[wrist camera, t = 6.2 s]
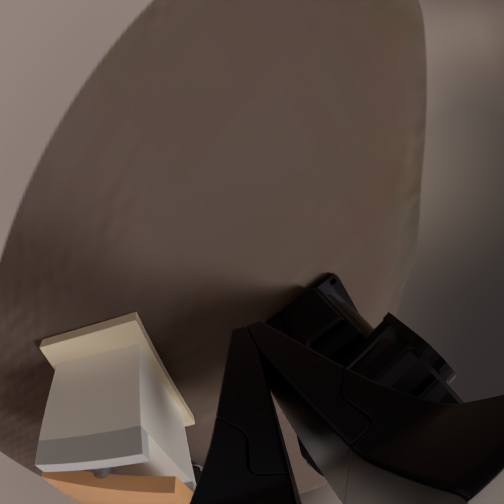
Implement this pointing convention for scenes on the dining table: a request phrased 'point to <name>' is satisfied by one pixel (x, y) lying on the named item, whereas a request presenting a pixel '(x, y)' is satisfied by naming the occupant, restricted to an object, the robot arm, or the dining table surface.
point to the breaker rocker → (119, 487)
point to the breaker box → (113, 405)
